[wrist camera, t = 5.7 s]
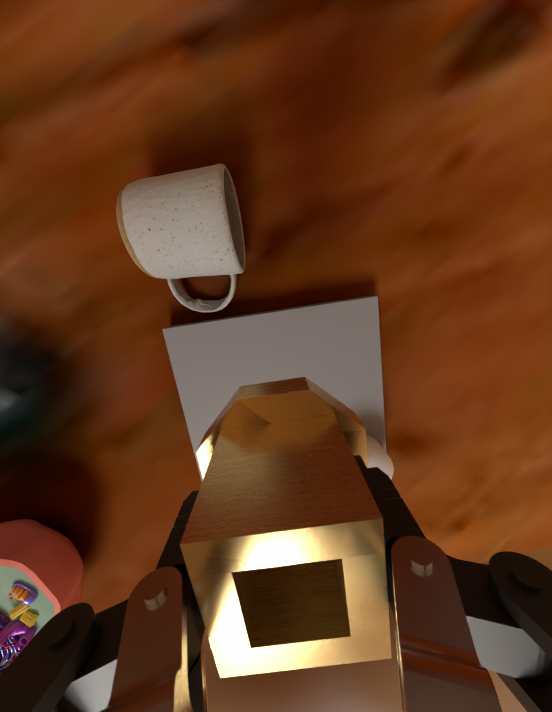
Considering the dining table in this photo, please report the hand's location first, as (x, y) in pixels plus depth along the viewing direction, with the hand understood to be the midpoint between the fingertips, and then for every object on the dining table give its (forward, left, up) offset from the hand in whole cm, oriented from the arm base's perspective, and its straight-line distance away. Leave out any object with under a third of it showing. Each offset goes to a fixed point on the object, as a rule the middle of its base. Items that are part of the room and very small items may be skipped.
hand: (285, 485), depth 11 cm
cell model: (+33, +20, -18) cm, 43 cm away
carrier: (0, +6, -18) cm, 19 cm away
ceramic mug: (+5, -11, -19) cm, 22 cm away
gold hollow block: (0, 0, -2) cm, 2 cm away
